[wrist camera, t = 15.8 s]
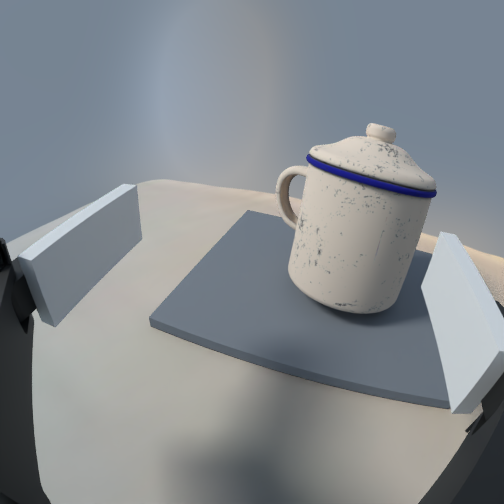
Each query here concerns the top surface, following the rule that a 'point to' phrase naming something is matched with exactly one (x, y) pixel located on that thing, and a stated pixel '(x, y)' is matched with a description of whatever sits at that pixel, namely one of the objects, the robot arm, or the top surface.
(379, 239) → the teacup with lid
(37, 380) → the top surface
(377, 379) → the charcoal mat
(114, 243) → the robot arm
